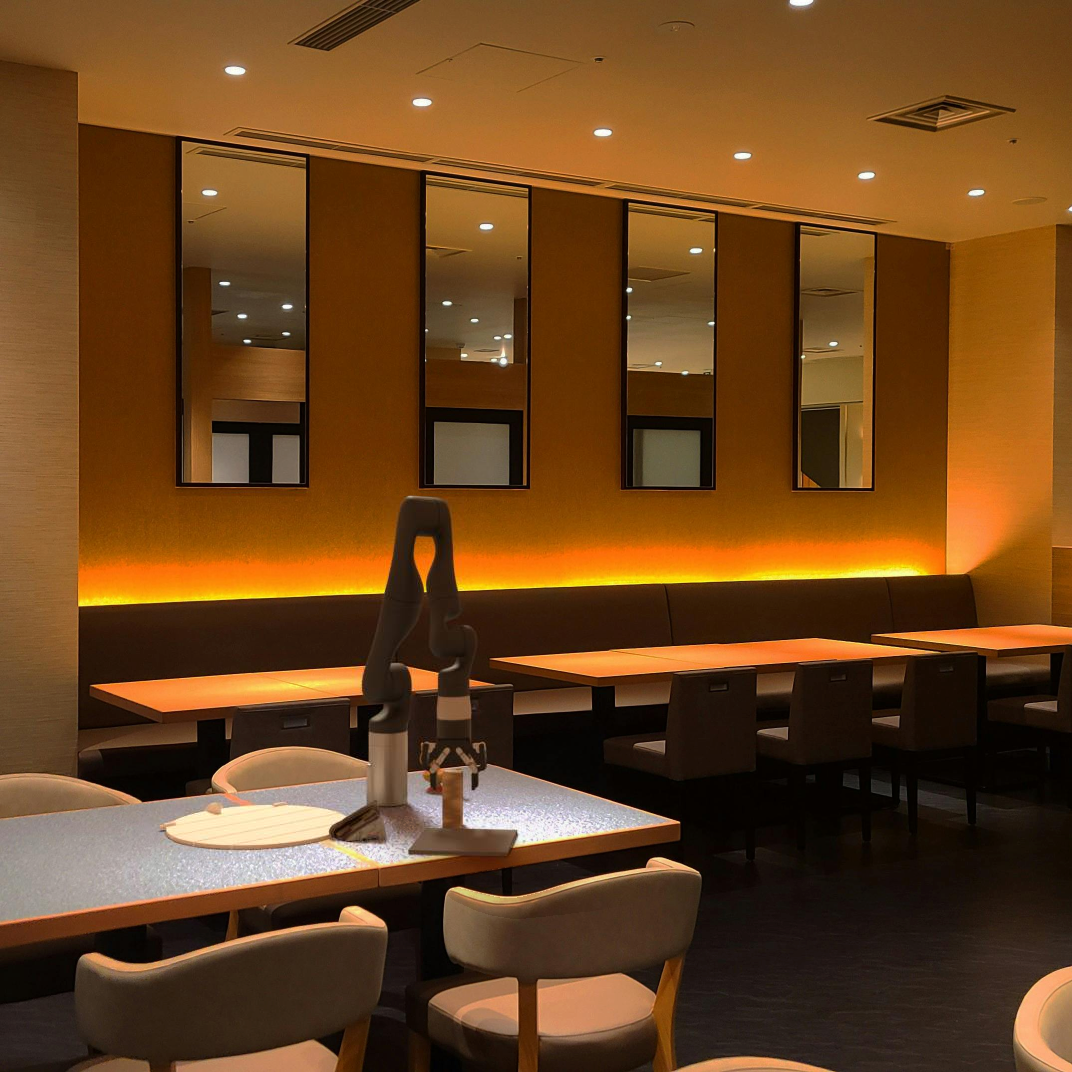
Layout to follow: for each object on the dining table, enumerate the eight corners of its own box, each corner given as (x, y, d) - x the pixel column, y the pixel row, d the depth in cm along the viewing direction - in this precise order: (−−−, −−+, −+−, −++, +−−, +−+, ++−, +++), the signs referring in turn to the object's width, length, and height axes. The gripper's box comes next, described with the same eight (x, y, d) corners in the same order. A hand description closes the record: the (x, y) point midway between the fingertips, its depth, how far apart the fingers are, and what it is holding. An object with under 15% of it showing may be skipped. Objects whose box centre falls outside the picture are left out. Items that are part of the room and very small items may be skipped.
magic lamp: (450, 798, 318) (450, 753, 318) (408, 787, 332) (408, 743, 332) (472, 794, 323) (473, 750, 323) (430, 783, 337) (430, 741, 337)
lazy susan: (129, 829, 286) (129, 813, 286) (276, 802, 315) (277, 788, 315) (234, 861, 259) (234, 843, 259) (385, 828, 288) (385, 812, 288)
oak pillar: (442, 827, 287) (442, 772, 287) (445, 823, 291) (445, 769, 291) (460, 827, 287) (460, 773, 287) (462, 823, 291) (463, 769, 291)
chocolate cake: (338, 847, 271) (379, 805, 273) (324, 831, 277) (366, 790, 279) (364, 871, 276) (405, 829, 279) (351, 855, 282) (391, 814, 284)
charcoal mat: (408, 853, 263) (408, 849, 263) (425, 831, 283) (425, 827, 283) (507, 856, 262) (507, 852, 262) (517, 833, 282) (517, 829, 282)
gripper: (419, 718, 286) (419, 792, 286) (483, 718, 285) (484, 793, 284) (424, 714, 293) (425, 786, 293) (488, 714, 292) (488, 786, 292)
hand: (454, 789), depth 289 cm, fingers open, 8 cm apart
